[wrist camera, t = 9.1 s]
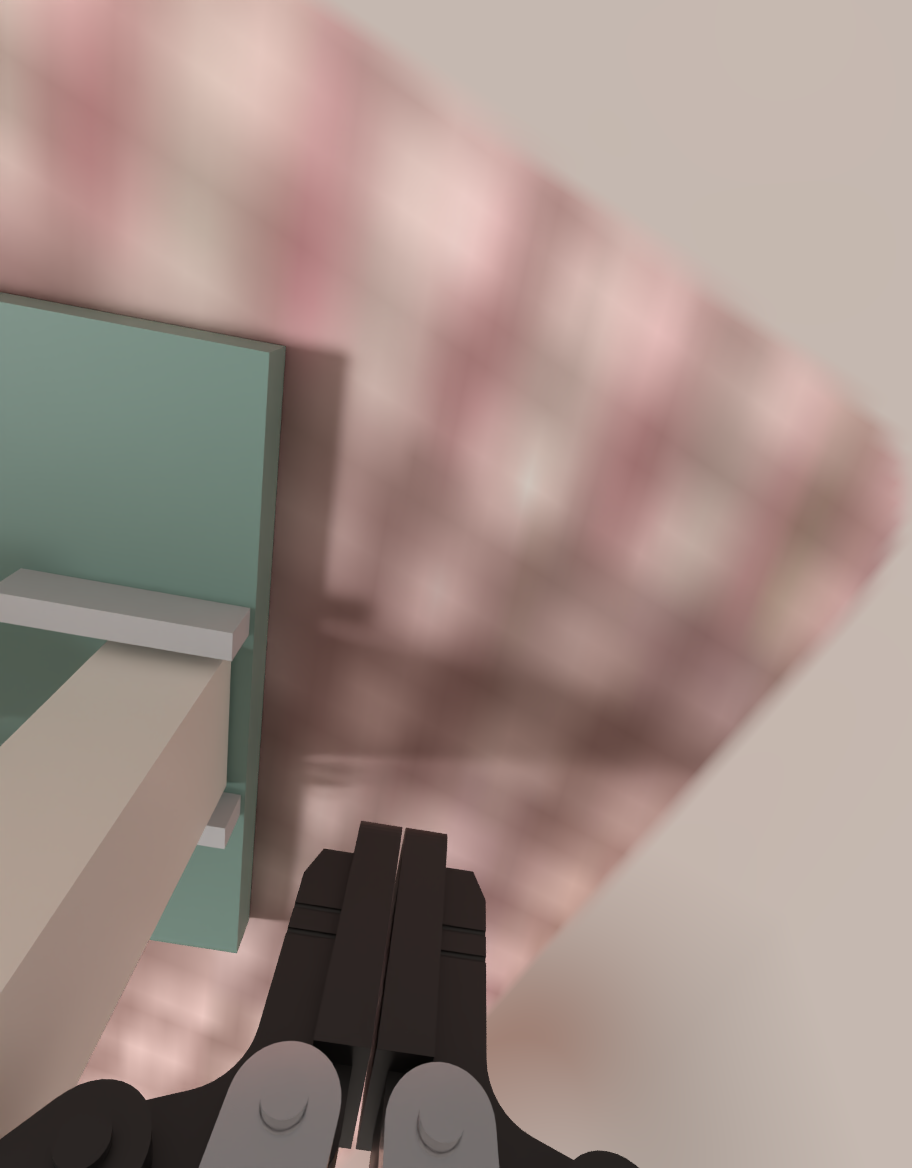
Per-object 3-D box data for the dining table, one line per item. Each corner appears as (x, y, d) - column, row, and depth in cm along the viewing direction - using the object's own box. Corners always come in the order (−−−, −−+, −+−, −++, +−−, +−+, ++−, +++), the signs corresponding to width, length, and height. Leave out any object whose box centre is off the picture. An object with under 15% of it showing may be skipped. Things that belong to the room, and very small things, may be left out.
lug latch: (29, 753, 15) (-403, 1214, 8) (11, 609, 13) (-553, 1018, 6) (226, 786, 15) (-15, 1266, 8) (231, 647, 13) (-63, 1088, 6)
